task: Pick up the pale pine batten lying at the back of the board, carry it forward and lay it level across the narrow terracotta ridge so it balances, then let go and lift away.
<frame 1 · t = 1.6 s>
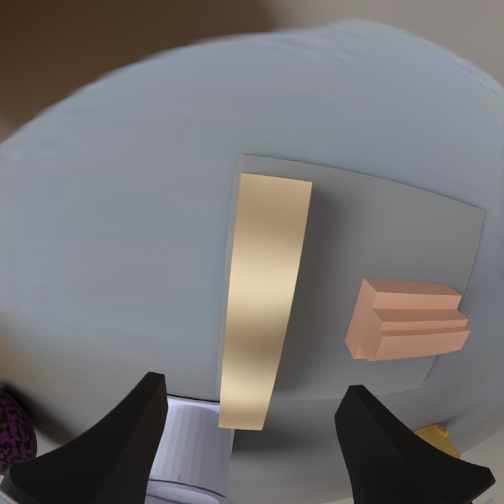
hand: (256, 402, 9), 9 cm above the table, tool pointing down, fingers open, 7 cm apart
yellow toy chair: (401, 440, 26), on the table
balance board: (360, 303, 19), on the table
toy ball: (15, 401, 24), on the table
pine batten: (252, 304, 17), point 1 cm above the table, touching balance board
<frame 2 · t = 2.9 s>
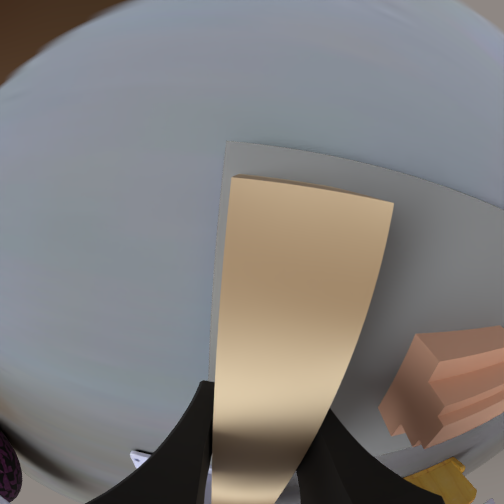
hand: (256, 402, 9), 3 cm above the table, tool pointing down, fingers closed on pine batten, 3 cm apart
yellow toy chair: (415, 475, 20), on the table
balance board: (401, 359, 12), on the table
pine batten: (255, 378, 11), point 1 cm above the table, touching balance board, gripper
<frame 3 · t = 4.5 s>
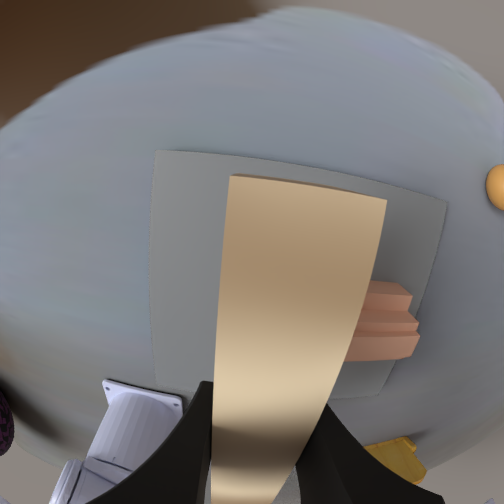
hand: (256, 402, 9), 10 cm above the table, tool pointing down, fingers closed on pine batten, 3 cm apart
yellow toy chair: (367, 451, 27), on the table
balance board: (295, 300, 19), on the table
figurine: (488, 195, 17), on the table
pine batten: (254, 374, 11), point 8 cm above the table, touching gripper
when the fingers open (8 cm above the table, at t = 6.2 s): pine batten stays where it is, resting on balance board.
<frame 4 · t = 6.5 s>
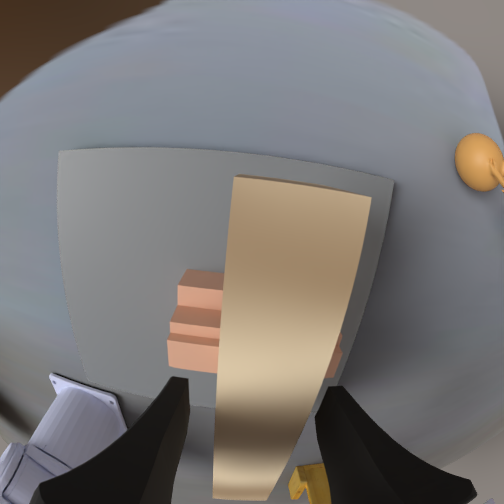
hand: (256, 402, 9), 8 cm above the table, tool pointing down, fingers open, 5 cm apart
yellow toy chair: (331, 467, 25), on the table
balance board: (205, 300, 17), on the table
figurine: (460, 174, 15), on the table
pine batten: (255, 364, 12), point 6 cm above the table, touching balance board
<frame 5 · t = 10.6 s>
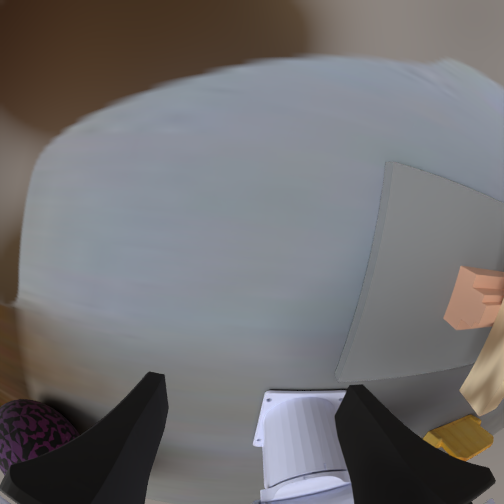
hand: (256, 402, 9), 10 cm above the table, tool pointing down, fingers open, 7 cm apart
yellow toy chair: (443, 430, 28), on the table
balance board: (451, 288, 20), on the table
toy ball: (59, 416, 25), on the table
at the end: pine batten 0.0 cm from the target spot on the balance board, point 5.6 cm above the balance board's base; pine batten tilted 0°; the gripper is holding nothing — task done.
